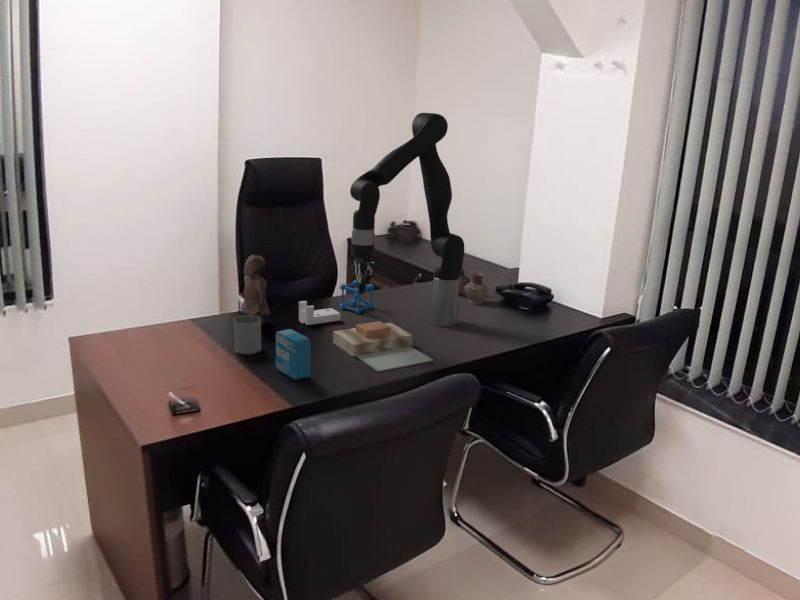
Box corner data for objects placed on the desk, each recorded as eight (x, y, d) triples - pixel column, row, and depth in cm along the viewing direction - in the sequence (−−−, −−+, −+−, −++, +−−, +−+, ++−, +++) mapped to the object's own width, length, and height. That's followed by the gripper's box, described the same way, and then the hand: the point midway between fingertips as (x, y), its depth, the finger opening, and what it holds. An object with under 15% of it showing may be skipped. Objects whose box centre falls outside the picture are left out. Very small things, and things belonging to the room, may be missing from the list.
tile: (379, 328, 230) (379, 321, 229) (390, 334, 224) (390, 327, 223) (355, 331, 225) (355, 324, 224) (366, 338, 219) (366, 331, 219)
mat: (410, 347, 225) (410, 346, 225) (433, 361, 214) (433, 360, 214) (356, 356, 215) (356, 355, 214) (378, 371, 204) (378, 370, 204)
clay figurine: (234, 322, 242) (232, 252, 234) (259, 317, 248) (258, 249, 241) (252, 332, 232) (251, 260, 225) (278, 326, 239) (277, 256, 232)
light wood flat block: (390, 333, 237) (390, 322, 236) (412, 346, 226) (412, 335, 225) (333, 342, 226) (333, 331, 225) (353, 356, 214) (353, 344, 213)
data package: (275, 368, 203) (275, 330, 199) (288, 365, 206) (288, 327, 202) (297, 381, 194) (297, 342, 191) (310, 378, 197) (311, 339, 194)
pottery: (471, 307, 272) (473, 278, 269) (437, 291, 293) (439, 264, 289) (494, 304, 277) (496, 275, 274) (459, 288, 298) (461, 262, 295)
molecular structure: (338, 309, 262) (338, 284, 259) (354, 303, 270) (355, 279, 267) (358, 314, 256) (359, 289, 253) (374, 308, 264) (375, 283, 261)
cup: (237, 355, 211) (237, 324, 208) (231, 346, 218) (230, 317, 215) (264, 352, 215) (264, 321, 212) (257, 343, 222) (256, 314, 219)
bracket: (306, 327, 240) (307, 307, 238) (298, 321, 246) (298, 301, 244) (340, 322, 247) (340, 302, 245) (331, 317, 253) (331, 297, 251)
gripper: (383, 245, 220) (381, 297, 225) (363, 237, 231) (361, 287, 236) (362, 246, 216) (361, 299, 221) (343, 238, 227) (342, 289, 232)
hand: (361, 293), depth 228 cm, fingers closed
